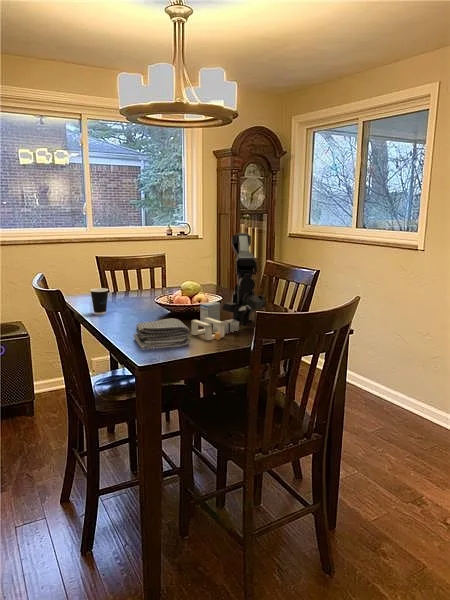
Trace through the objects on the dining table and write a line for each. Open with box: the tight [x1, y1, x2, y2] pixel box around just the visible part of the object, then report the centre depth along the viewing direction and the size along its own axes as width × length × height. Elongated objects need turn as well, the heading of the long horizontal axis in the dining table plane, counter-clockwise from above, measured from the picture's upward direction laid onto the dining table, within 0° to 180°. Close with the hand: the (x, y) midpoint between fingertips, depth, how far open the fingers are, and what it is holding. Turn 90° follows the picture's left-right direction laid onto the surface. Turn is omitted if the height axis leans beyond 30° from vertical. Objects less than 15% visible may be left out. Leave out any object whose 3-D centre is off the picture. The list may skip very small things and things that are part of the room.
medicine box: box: [199, 301, 221, 326], centre depth 191 cm, size 8×4×9 cm, turn 141°
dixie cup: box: [89, 287, 109, 316], centre depth 205 cm, size 8×8×11 cm
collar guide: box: [190, 317, 225, 341], centre depth 172 cm, size 8×12×6 cm
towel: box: [133, 317, 191, 350], centre depth 164 cm, size 15×18×8 cm
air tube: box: [212, 318, 240, 335], centre depth 179 cm, size 10×4×4 cm, turn 129°
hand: (244, 325), depth 185 cm, fingers closed
